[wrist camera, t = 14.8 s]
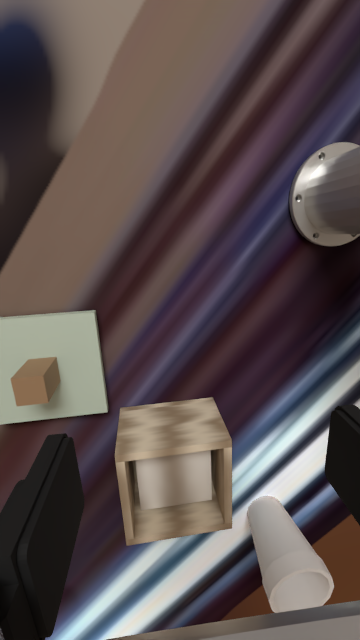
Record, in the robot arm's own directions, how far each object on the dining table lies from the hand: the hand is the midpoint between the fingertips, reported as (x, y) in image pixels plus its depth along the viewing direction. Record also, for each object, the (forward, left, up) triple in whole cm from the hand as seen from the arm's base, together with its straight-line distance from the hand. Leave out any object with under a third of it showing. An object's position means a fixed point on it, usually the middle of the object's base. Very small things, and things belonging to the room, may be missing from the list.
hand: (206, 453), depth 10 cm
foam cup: (-16, +41, -31) cm, 54 cm away
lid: (+16, +9, -31) cm, 36 cm away
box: (0, +24, -31) cm, 39 cm away
